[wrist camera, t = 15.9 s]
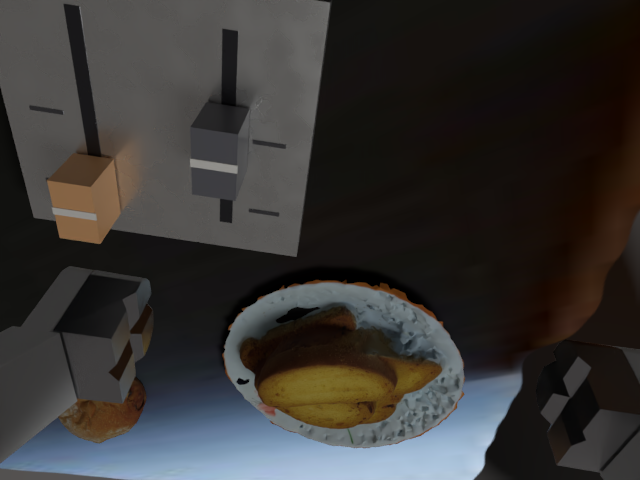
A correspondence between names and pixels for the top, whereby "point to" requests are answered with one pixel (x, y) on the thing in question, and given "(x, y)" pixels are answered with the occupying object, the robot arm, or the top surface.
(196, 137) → the black fader
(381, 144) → the top surface
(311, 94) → the mixing panel
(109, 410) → the bread roll
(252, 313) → the food on plate
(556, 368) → the robot arm
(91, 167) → the orange fader
